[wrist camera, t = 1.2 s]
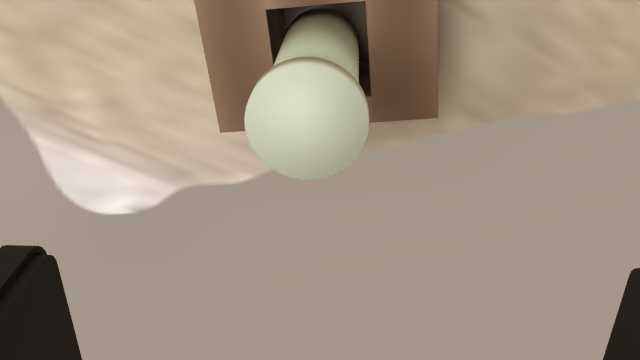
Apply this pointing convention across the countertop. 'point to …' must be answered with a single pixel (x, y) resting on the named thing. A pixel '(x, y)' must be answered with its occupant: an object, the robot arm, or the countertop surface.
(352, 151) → the green plug
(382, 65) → the socket block
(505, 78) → the countertop surface
